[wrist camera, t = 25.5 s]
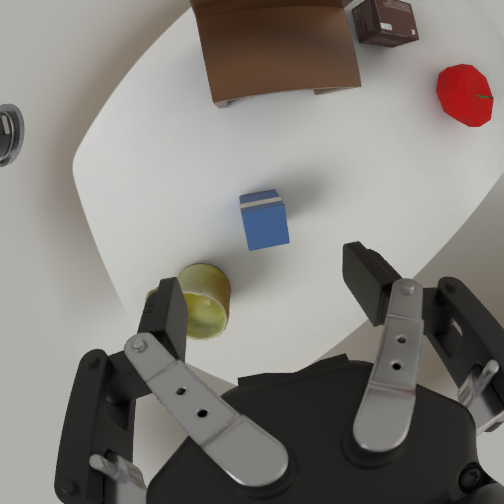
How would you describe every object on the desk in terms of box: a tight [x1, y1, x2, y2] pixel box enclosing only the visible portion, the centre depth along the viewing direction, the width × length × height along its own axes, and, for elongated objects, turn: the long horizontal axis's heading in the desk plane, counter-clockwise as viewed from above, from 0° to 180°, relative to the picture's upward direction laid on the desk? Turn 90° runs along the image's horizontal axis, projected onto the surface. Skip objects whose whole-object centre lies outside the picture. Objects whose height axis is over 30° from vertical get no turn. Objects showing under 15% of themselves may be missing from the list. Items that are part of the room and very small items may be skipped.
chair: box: [189, 0, 361, 109], centre depth 21 cm, size 10×14×20 cm
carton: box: [240, 190, 290, 251], centre depth 36 cm, size 5×5×7 cm
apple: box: [436, 64, 493, 127], centre depth 27 cm, size 11×11×10 cm
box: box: [352, 0, 419, 48], centre depth 23 cm, size 6×6×7 cm
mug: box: [145, 264, 231, 340], centre depth 40 cm, size 12×10×10 cm
